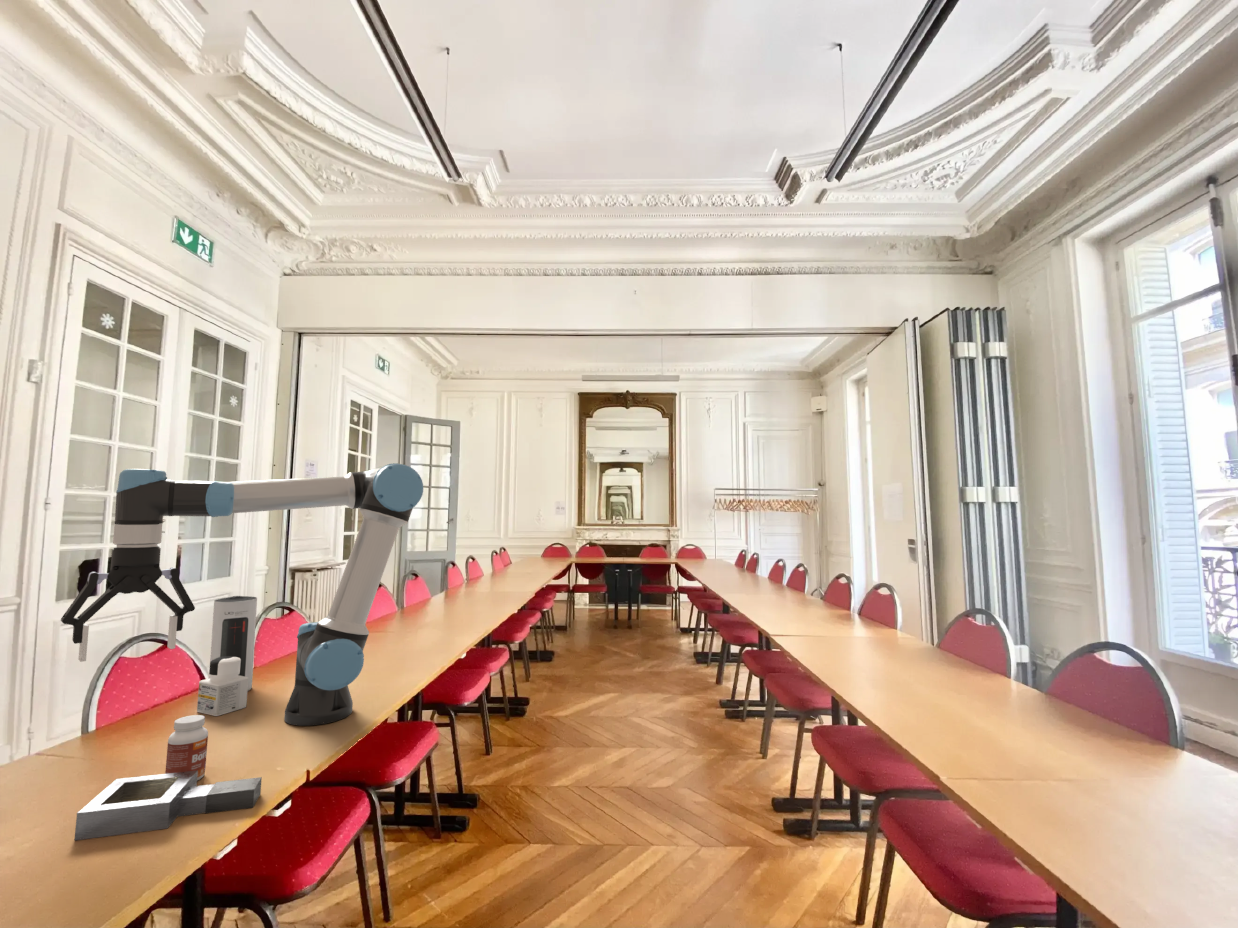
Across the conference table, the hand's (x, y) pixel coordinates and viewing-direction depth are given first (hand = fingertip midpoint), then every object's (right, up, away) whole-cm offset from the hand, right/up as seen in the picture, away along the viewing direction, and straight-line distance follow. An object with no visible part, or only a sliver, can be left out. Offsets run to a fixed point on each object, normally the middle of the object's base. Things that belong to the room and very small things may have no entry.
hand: (128, 653), depth 114 cm
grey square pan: (+22, -21, -16) cm, 35 cm away
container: (-4, -25, +33) cm, 41 cm away
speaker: (-12, -26, +48) cm, 56 cm away
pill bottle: (+15, -22, -5) cm, 27 cm away
